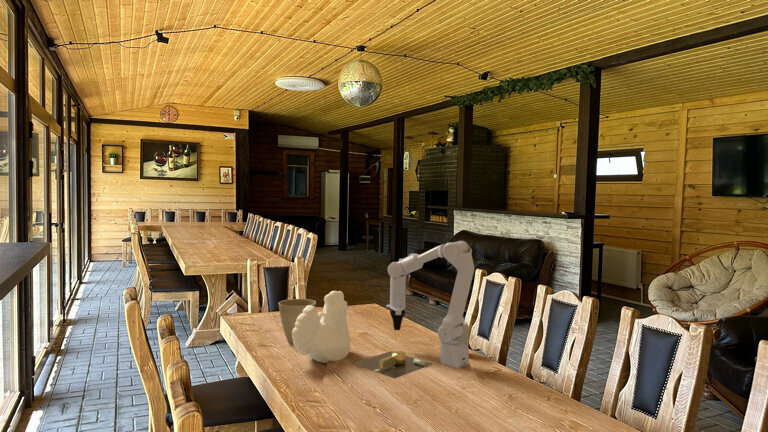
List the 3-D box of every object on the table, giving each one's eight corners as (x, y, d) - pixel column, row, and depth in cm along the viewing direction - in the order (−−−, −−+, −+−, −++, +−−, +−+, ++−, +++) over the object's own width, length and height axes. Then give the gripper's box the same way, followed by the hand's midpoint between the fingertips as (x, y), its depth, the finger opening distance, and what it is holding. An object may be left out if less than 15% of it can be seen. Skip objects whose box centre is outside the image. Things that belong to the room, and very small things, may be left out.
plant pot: (319, 337, 215) (319, 299, 214) (310, 347, 200) (311, 307, 199) (284, 335, 216) (284, 297, 215) (273, 345, 201) (273, 305, 201)
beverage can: (448, 354, 194) (449, 323, 193) (454, 350, 200) (455, 319, 199) (465, 357, 191) (465, 325, 190) (470, 353, 197) (471, 322, 196)
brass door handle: (397, 359, 183) (397, 350, 183) (408, 362, 180) (408, 353, 179) (375, 367, 173) (375, 358, 173) (387, 371, 170) (387, 361, 170)
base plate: (433, 368, 179) (433, 359, 179) (394, 382, 164) (394, 373, 164) (391, 355, 193) (391, 346, 192) (351, 367, 178) (351, 358, 178)
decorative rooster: (335, 349, 198) (336, 285, 197) (359, 360, 186) (361, 292, 185) (276, 362, 183) (277, 292, 181) (298, 374, 170) (299, 300, 169)
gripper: (386, 289, 199) (385, 324, 200) (387, 297, 185) (386, 334, 186) (404, 290, 200) (404, 324, 200) (407, 297, 185) (406, 335, 186)
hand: (397, 329), depth 193 cm, fingers closed
